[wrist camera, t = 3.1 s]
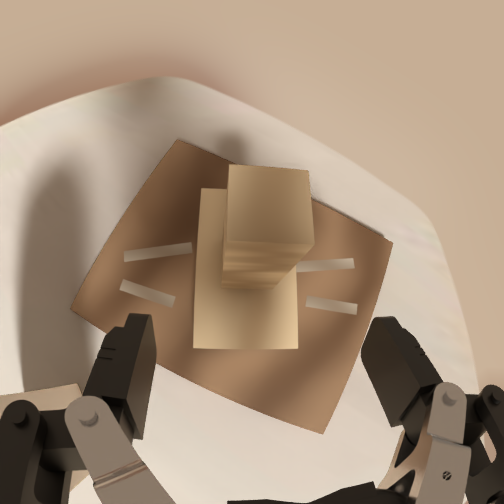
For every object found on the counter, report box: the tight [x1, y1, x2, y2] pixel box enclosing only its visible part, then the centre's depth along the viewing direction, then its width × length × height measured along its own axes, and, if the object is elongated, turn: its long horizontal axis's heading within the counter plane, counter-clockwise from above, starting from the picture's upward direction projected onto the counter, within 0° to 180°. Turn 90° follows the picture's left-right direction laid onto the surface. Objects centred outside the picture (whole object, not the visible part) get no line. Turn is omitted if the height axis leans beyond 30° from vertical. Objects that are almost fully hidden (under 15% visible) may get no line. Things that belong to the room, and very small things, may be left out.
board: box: [70, 140, 393, 434], centre depth 22 cm, size 20×16×1 cm
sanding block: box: [193, 164, 315, 349], centre depth 16 cm, size 6×10×11 cm, turn 0°
